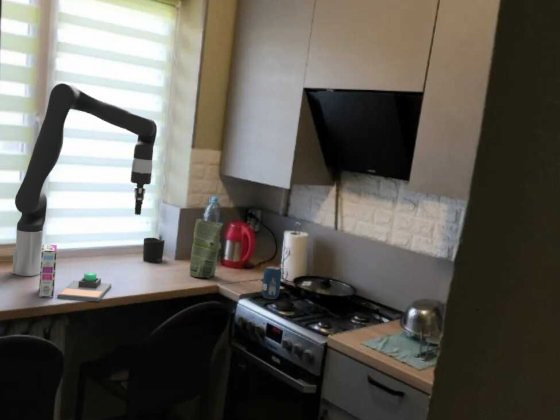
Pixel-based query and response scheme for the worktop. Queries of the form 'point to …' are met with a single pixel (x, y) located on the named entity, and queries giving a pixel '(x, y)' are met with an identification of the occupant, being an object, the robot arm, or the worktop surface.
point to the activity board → (85, 290)
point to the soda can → (271, 282)
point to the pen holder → (153, 250)
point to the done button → (90, 277)
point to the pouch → (205, 248)
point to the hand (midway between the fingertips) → (137, 212)
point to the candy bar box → (47, 271)
